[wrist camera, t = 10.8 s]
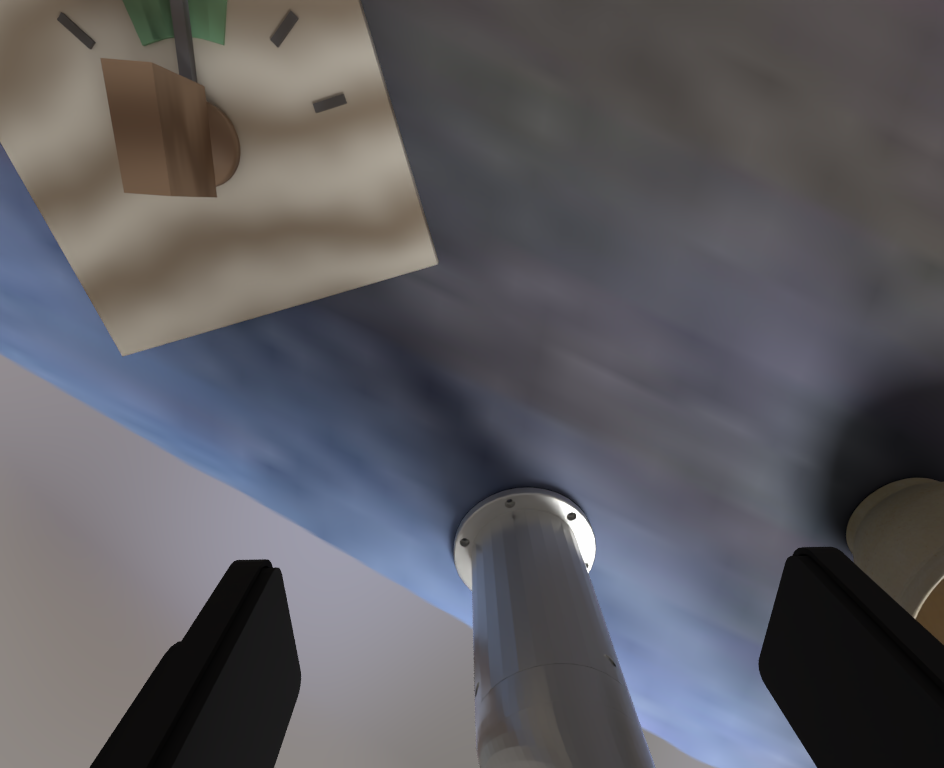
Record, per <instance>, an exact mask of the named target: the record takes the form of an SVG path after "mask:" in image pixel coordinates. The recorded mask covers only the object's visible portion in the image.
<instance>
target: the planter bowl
mask: <svg viewBox="0 0 944 768" xmlns="http://www.w3.org/2000/svg"><path fill="white" fill-rule="evenodd" d="M846 540H847V544H848V547H849V549H850V551H851V552H852V554H853V558H854V563H855V564H856V565H857V566H858V567H859V568H860V569H861V570H862V571H863V572H864V573H865V574H867V575H868V576H869V577H870V578H871V579H872V580H873V581H874V582H875V583H876V584H878V585H879V586H880V587H881V588H882V589H883V590H884V591H885V592H886V593H887V594H888V595H890V596H891V597H892V598H893V599H894V600H895V601H896V602H897V603H898V604H899V605H900V606H902V607H903V608H904V609H905V610H906V611H907V612H908V613H909V614H910V615H911V616H912V617H914V618H915V619H916V620H917V621H918V622H919V623H920V624H921V625H922V626H923V627H924V628H926V629H927V630H928V631H929V632H930V633H931V634H932V635H933V636H934V637H935V638H936V639H938V640H939V641H940V642H941V643H942V644H943V645H944V482H939V481H936V480H933V479H928V478H907V479H902V480H899V481H895V482H892V483H890V484H887V485H885V486H883V487H881V488H879V489H878V490H876V491H875V492H873V493H872V494H870V495H869V496H868V497H867V498H865V499H864V500H863V501H862V502H861V503H860V504H859V506H858V507H857V508H856V509H855V511H854V512H853V514H852V515H851V517H850V520H849V522H848V525H847V531H846Z"/></svg>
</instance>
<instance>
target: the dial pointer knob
mask: <svg viewBox="0 0 944 768" xmlns="http://www.w3.org/2000/svg"><path fill="white" fill-rule="evenodd" d="M170 7H171V15H172V22H173V30H174V38H175V46H176V54H177V61H178V69H179V74H177V73H174V72H172V71H170V70H168V69H166V68H163V67H161V66H159V65H157V64H155V63H152V62H144V61H132V60H119V59H107V58H100V59H101V65H102V71H103V76H104V82H105V88H106V93H107V99H108V105H109V110H110V116H111V122H112V127H113V133H114V139H115V144H116V150H117V156H118V161H119V167H120V173H121V178H122V184H123V190H124V193H133V194H147V195H161V196H181V197H216V198H217V192H216V187H217V186H220V185H222V184H224V183H226V182H227V181H228V180H230V179H231V178H232V176H233V175H234V174H235V172H236V170H237V168H238V165H239V162H240V155H241V150H240V142H239V138H238V135H237V132H236V130H235V128H234V126H233V124H232V123H231V121H230V120H229V118H228V117H227V116H226V115H225V114H224V113H223V112H222V111H221V110H220V109H219V108H217V107H216V106H214V105H213V104H211V103H209V102H207V101H206V94H205V86H203V85H201V84H198V83H197V75H196V66H195V57H194V49H193V40H192V32H191V23H190V15H189V6H188V0H170Z"/></svg>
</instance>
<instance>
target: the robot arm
mask: <svg viewBox="0 0 944 768" xmlns="http://www.w3.org/2000/svg"><path fill="white" fill-rule="evenodd" d="M508 499H509V500H508ZM595 553H596V542H595V536H594V533H593V530H592V527H591V525H590V523H589V521H588V519H587V517H586V515H585V514H584V513H583V511H582V510H581V509H580V508H579V507H578V506H577V505H576V504H575V503H573V502H572V501H571V500H570V499H568V498H566V497H564V496H562V495H560V494H558V493H556V492H553V491H549V490H546V489H540V488H532V487H529V488H515V489H510V490H505V491H502V492H499V493H496V494H494V495H491V496H489V497H488V498H486V499H484V500H483V501H481V502H479V503H478V504H477V505H476V506H475V507H473V508H472V509H471V510H470V511H469V512H468V513H467V515H466V516H465V517H464V519H463V520H462V521H461V523H460V525H459V527H458V530H457V532H456V536H455V540H454V561H455V566H456V569H457V572H458V574H459V576H460V578H461V579H462V581H463V582H464V584H465V585H466V586H467V587H468V588H469V589H470V590H471V591H472V608H473V650H474V689H475V690H474V691H475V727H476V750H477V758H478V762H479V765H480V768H656V767H655V765H654V762H653V759H652V756H651V754H650V751H649V748H648V745H647V743H646V740H645V737H644V734H643V731H642V728H641V725H640V723H639V720H638V717H637V714H636V711H635V708H634V705H633V702H632V699H631V696H630V694H629V691H628V688H627V685H626V682H625V679H624V676H623V673H622V670H621V667H620V664H619V661H618V658H617V655H616V652H615V649H614V647H613V644H612V641H611V638H610V635H609V632H608V629H607V626H606V623H605V620H604V617H603V614H602V611H601V608H600V605H599V603H598V600H597V597H596V594H595V591H594V588H593V585H592V582H591V579H590V576H589V572H590V570H591V568H592V565H593V562H594V559H595ZM759 671H760V675H761V677H762V680H763V682H764V684H765V685H766V687H767V689H768V690H769V692H770V693H771V695H772V696H773V698H774V700H775V701H776V703H777V704H778V706H779V708H780V709H781V711H782V712H783V714H784V716H785V717H786V719H787V720H788V722H789V723H790V725H791V727H792V728H793V730H794V731H795V733H796V735H797V736H798V738H799V739H800V741H801V743H802V744H803V746H804V747H805V749H806V751H807V752H808V754H809V755H810V757H811V758H812V760H813V762H814V763H815V765H816V766H817V768H944V645H943V644H942V643H941V642H940V641H939V640H938V639H936V638H935V637H934V636H933V635H932V634H931V633H930V632H929V631H928V630H927V629H926V628H924V627H923V626H922V625H921V624H920V623H919V622H918V621H917V620H916V619H915V618H914V617H912V616H911V615H910V614H909V613H908V612H907V611H906V610H905V609H904V608H903V607H902V606H900V605H899V604H898V603H897V602H896V601H895V600H894V599H893V598H892V597H891V596H890V595H888V594H887V593H886V592H885V591H884V590H883V589H882V588H881V587H880V586H879V585H878V584H876V583H875V582H874V581H873V580H872V579H871V578H870V577H869V576H868V575H867V574H865V573H864V572H863V571H862V570H861V569H860V568H859V567H858V566H857V565H856V564H855V563H853V562H852V561H851V560H850V559H849V558H848V557H847V556H846V555H845V554H844V553H843V552H841V551H840V550H838V549H837V548H834V547H802V548H798V549H797V550H795V552H794V554H793V556H790V557H788V558H787V560H786V562H785V566H784V570H783V573H782V577H781V581H780V584H779V588H778V592H777V595H776V599H775V603H774V606H773V610H772V614H771V617H770V621H769V624H768V628H767V632H766V635H765V639H764V643H763V646H762V650H761V654H760V657H759ZM300 684H301V671H300V665H299V661H298V656H297V650H296V645H295V639H294V635H293V629H292V624H291V619H290V614H289V608H288V603H287V598H286V593H285V588H284V583H283V577H282V573H281V570H280V569H279V568H273V567H272V564H271V562H270V561H269V560H236V561H234V562H233V563H232V564H231V565H230V567H229V569H228V570H227V571H226V573H225V574H224V576H223V578H222V579H221V581H220V582H219V584H218V585H217V587H216V588H215V590H214V592H213V593H212V595H211V596H210V598H209V599H208V601H207V602H206V604H205V606H204V607H203V609H202V610H201V612H200V613H199V615H198V616H197V618H196V619H195V621H194V622H193V624H192V626H191V627H190V629H189V630H188V632H187V634H186V635H185V636H184V638H183V640H182V641H181V642H177V643H176V644H174V645H173V646H171V647H170V649H169V650H168V651H167V652H166V654H165V655H164V656H163V658H162V659H161V661H160V662H159V664H158V665H157V667H156V668H155V670H154V671H153V673H152V674H151V676H150V677H149V679H148V680H147V682H146V683H145V685H144V686H143V688H142V689H141V691H140V692H139V694H138V695H137V697H136V698H135V700H134V701H133V703H132V704H131V706H130V707H129V709H128V710H127V712H126V713H125V715H124V716H123V718H122V719H121V721H120V723H119V724H118V725H117V727H116V729H115V730H114V732H113V733H112V734H111V736H110V737H109V739H108V741H107V742H106V744H105V745H104V747H103V748H102V750H101V751H100V753H99V754H98V756H97V757H96V759H95V760H94V762H93V763H92V765H91V766H90V768H274V765H275V763H276V760H277V757H278V754H279V751H280V748H281V745H282V742H283V739H284V736H285V733H286V730H287V727H288V724H289V721H290V718H291V715H292V712H293V709H294V706H295V703H296V700H297V697H298V694H299V690H300Z"/></svg>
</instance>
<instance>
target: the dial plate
mask: <svg viewBox="0 0 944 768" xmlns="http://www.w3.org/2000/svg"><path fill="white" fill-rule="evenodd" d="M188 6H189V15H190V23H191V32H192V40H193V49H194V57H195V66H196V75H197V83H198V84H201V85H203V86H205V94H206V101H207V102H209V103H211V104H213V105H214V106H216V107H217V108H219V109H220V110H221V111H222V112H223V113H224V114H225V115H226V116H227V117H228V118H229V120H230V121H231V123H232V124H233V126H234V128H235V130H236V132H237V135H238V138H239V142H240V150H241V155H240V162H239V165H238V168H237V170H236V172H235V174H234V175H233V176H232V178H231V179H230V180H228V181H227V182H226V183H224V184H222V185H220V186H217V187H216V192H217V198H216V197H181V196H161V195H147V194H133V193H124V190H123V184H122V178H121V173H120V167H119V161H118V156H117V150H116V144H115V139H114V133H113V127H112V122H111V116H110V110H109V105H108V99H107V93H106V88H105V82H104V76H103V71H102V65H101V59H100V58H107V59H119V60H132V61H144V62H152V63H155V64H157V65H159V66H161V67H163V68H166V69H168V70H170V71H172V72H174V73H177V74H179V69H178V61H177V54H176V46H175V38H174V30H173V22H172V15H171V7H170V0H0V142H1V144H2V146H3V148H4V149H5V151H6V153H7V155H8V156H9V158H10V160H11V162H12V163H13V165H14V167H15V169H16V170H17V172H18V174H19V176H20V177H21V179H22V181H23V183H24V184H25V186H26V188H27V190H28V191H29V193H30V195H31V197H32V198H33V200H34V202H35V204H36V205H37V207H38V209H39V211H40V213H41V214H42V216H43V218H44V220H45V221H46V223H47V225H48V227H49V228H50V230H51V232H52V234H53V235H54V237H55V239H56V241H57V242H58V244H59V246H60V248H61V249H62V251H63V253H64V255H65V256H66V258H67V260H68V262H69V263H70V265H71V267H72V269H73V270H74V272H75V274H76V276H77V277H78V279H79V281H80V283H81V284H82V286H83V288H84V290H85V291H86V293H87V295H88V297H89V298H90V300H91V302H92V304H93V305H94V307H95V309H96V311H97V313H98V314H99V316H100V318H101V320H102V321H103V323H104V325H105V327H106V328H107V330H108V332H109V334H110V335H111V337H112V339H113V341H114V342H115V344H116V346H117V348H118V349H119V351H120V353H121V355H122V356H126V355H129V354H133V353H136V352H140V351H143V350H147V349H150V348H153V347H157V346H160V345H164V344H167V343H170V342H174V341H177V340H181V339H184V338H188V337H191V336H194V335H198V334H201V333H205V332H208V331H212V330H215V329H218V328H222V327H225V326H229V325H232V324H235V323H239V322H242V321H246V320H249V319H253V318H256V317H259V316H263V315H266V314H270V313H273V312H277V311H280V310H283V309H287V308H290V307H294V306H297V305H300V304H304V303H307V302H311V301H314V300H318V299H321V298H324V297H328V296H331V295H335V294H338V293H342V292H345V291H348V290H352V289H355V288H359V287H362V286H366V285H369V284H372V283H376V282H379V281H383V280H386V279H389V278H393V277H396V276H400V275H403V274H407V273H410V272H413V271H417V270H420V269H424V268H427V267H431V266H434V265H437V264H438V263H439V261H438V258H437V254H436V251H435V248H434V244H433V241H432V238H431V234H430V231H429V227H428V224H427V221H426V217H425V214H424V211H423V207H422V204H421V201H420V197H419V194H418V191H417V187H416V184H415V181H414V177H413V174H412V171H411V167H410V164H409V161H408V157H407V154H406V151H405V147H404V144H403V140H402V137H401V134H400V130H399V127H398V124H397V120H396V117H395V114H394V110H393V107H392V104H391V100H390V97H389V94H388V90H387V87H386V84H385V80H384V77H383V74H382V70H381V67H380V63H379V60H378V57H377V53H376V50H375V47H374V43H373V40H372V37H371V33H370V30H369V27H368V23H367V20H366V17H365V13H364V10H363V7H362V3H361V0H188Z"/></svg>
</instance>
